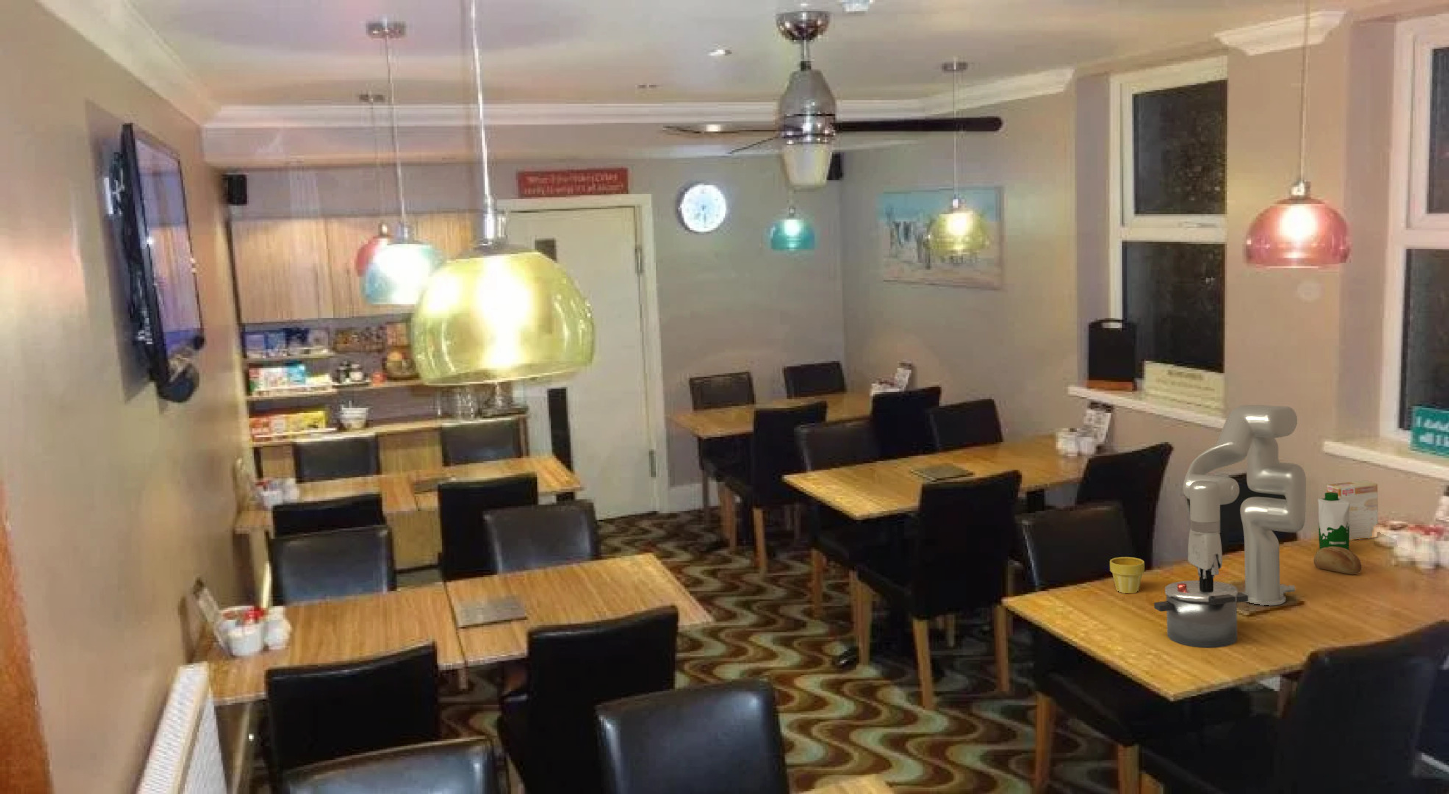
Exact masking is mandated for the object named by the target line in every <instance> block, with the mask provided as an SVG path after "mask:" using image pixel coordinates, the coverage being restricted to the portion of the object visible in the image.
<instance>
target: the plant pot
mask: <svg viewBox="0 0 1449 794" xmlns="http://www.w3.org/2000/svg"><path fill="white" fill-rule="evenodd" d="M1109 571H1110V572H1111V573H1112V576H1113V581H1114V585H1115V589H1116V591H1117V592H1118V591H1119V592H1118V593H1120V592H1122V593H1121V594H1125V593H1133V594H1136V593H1135V592H1137V591H1138V592H1139V590H1140V587H1141V586H1140V585H1141V580H1142V575H1143V574H1144V573H1145V561H1144V560H1143V559H1141V558H1137V557H1129V556H1121V557H1114V558H1112V559H1110V560H1109ZM1138 592H1137V593H1138Z"/></svg>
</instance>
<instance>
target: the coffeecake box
mask: <svg viewBox="0 0 1449 794" xmlns="http://www.w3.org/2000/svg"><path fill="white" fill-rule="evenodd" d="M1378 486H1379V485H1378V483H1376V482H1371V481H1369V480H1364V479H1363V480H1357V481H1349V482H1348V481H1347V482H1340V483H1338V482H1337V483H1330V484H1326V493H1328V492H1333V493H1338V498H1342V499H1344V500H1346V501H1347V502H1349V503H1350V509H1349V540H1350V541H1352V540H1351V539H1358V538H1368V539H1371V538H1370V537H1371V536H1372V531H1373V527H1374V526H1375V525H1376V524H1378V523H1379V522H1378V521H1379V520H1378V519H1379V518H1378V516H1379V513H1378V511H1379V510H1378V508H1379V507H1378V506H1379V503H1378V502H1379V501H1378V500H1379V499H1378V495H1379V494H1378Z"/></svg>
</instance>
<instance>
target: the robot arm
mask: <svg viewBox="0 0 1449 794" xmlns="http://www.w3.org/2000/svg"><path fill="white" fill-rule="evenodd" d="M1297 425H1298V416H1297V413H1296V411H1295V409H1293V408H1292V407H1290V406H1285V405H1284V406H1283V405H1261V404H1243V405H1239V406H1236V407H1235V408H1233V409H1232V410H1231V411H1230V412H1229V413H1228V415H1227V417H1226V419H1225V421H1224V424H1223V427H1222V429H1221V432H1220V434H1219V437H1218V439H1217V441H1216V444H1215V445H1214V446H1212V447H1210V448H1207V449H1206V450H1204V451H1203V452H1202V453H1200V454H1199V455H1198V456H1196V457H1195V458H1194V459H1193V460H1192V462H1191V463H1190V465H1189V466H1188V469H1187V472H1186V474H1185V477H1184V480H1183V484H1182V492H1183V495H1184V496H1185V497H1186V499H1188V500H1189V512H1190V514H1189V517H1190V518H1189V520H1190V530H1189V534H1188V543H1187V544H1188V545H1187V547H1188V548H1187V561H1188V563H1190V564H1191V565H1193V566H1194V567H1195V568H1196V569H1197V574H1198V577H1199V579H1198V581H1199V588H1200V591H1202V592H1213V590H1214V588H1213V581H1214V578H1215V575H1216V576H1218V575H1219V574H1220V571H1219V570H1220V569H1222V567H1223V550H1222V549H1223V547H1222V540H1221V534H1220V533H1221V506H1223V505H1229V504H1232V503H1233V502H1235V501H1236V500H1237V498H1238V497H1239V494H1240V486H1239V483H1238V481H1237V480H1236V479H1234V478H1232V477H1229V476H1225V475H1224V476H1223V475H1222V476H1221V475H1211V474H1209V473H1210V472H1212V471H1214V470H1217V469H1220V468H1225V467H1228V466H1231V465H1235V464H1237V463H1241V462H1242V461H1244V460H1246V483H1247V487H1248V489H1249V490H1250V491H1253V492H1255V493H1261V494H1271V495H1281V496H1284V497H1285V499H1282V498H1275V497H1274V498H1273V497H1264V496H1262V497H1261V496H1251V497H1248V498H1246V499H1244V500H1243V502H1242V503H1241V505H1240V509H1239V511H1240V512H1239V514H1240V519H1241V522H1242V528H1243V530H1242V531H1243V536H1244V537H1243V539H1244V540H1243V541H1244V545H1243V546H1244V586H1245V587H1244V591H1242V592H1241V593H1243V594H1246V595H1248V601H1246V602H1250V603H1254V604H1260V605H1259V606H1264V605H1269V606H1270V607H1271V606H1279V605H1282V604H1284V603H1285V602H1286V601H1287V598H1286V596H1285V595H1284V594H1286V593H1291V592H1292V593H1294V592H1295V591H1296V587H1295V585H1294V584H1292V585H1286V584H1283V583H1282V584H1281V581H1280V580H1281V578H1280V577H1281V575H1280V573H1281V572H1280V571H1281V569H1280V542H1279V540H1278V538H1277V536H1276V534H1275V533H1274V531H1277V532H1283V533H1284V532H1285V533H1299V532H1301V531H1302V530H1303V528H1304V527H1305V523H1306V510H1307V508H1306V505H1307V498H1306V497H1307V477H1306V472H1305V470H1304V468H1303V467H1302V466H1301V465H1299V464H1297V463H1293V462H1291V463H1290V462H1282V461H1280V460H1279V459H1280V458H1279V444H1278V441H1277V440H1276V439H1278V438H1279V439H1280V438H1282V437H1283V438H1284V437H1288V436H1290V435H1293V433H1294V432H1295V430H1296V428H1297ZM1246 602H1245V603H1246ZM1254 604H1253V605H1254Z"/></svg>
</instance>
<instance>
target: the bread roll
mask: <svg viewBox="0 0 1449 794" xmlns="http://www.w3.org/2000/svg"><path fill="white" fill-rule="evenodd" d="M1313 565H1314V566H1315V567H1316V568H1317V569H1321V570H1326V571H1330V572H1331V571H1332V572H1337V573H1342V574H1347V575H1357V574H1360V573H1361V571H1362V568H1363V567H1362V562H1361V560H1360V558H1359V557H1358V555H1356V554H1355V553H1354V552H1352V551H1351V550H1350V549H1349V550H1347V549H1345V548H1341V547H1328V548H1326V547H1324V548H1321V549H1320V548H1319V549H1318V550H1317V552H1316V554H1315V555H1314V557H1313Z"/></svg>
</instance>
